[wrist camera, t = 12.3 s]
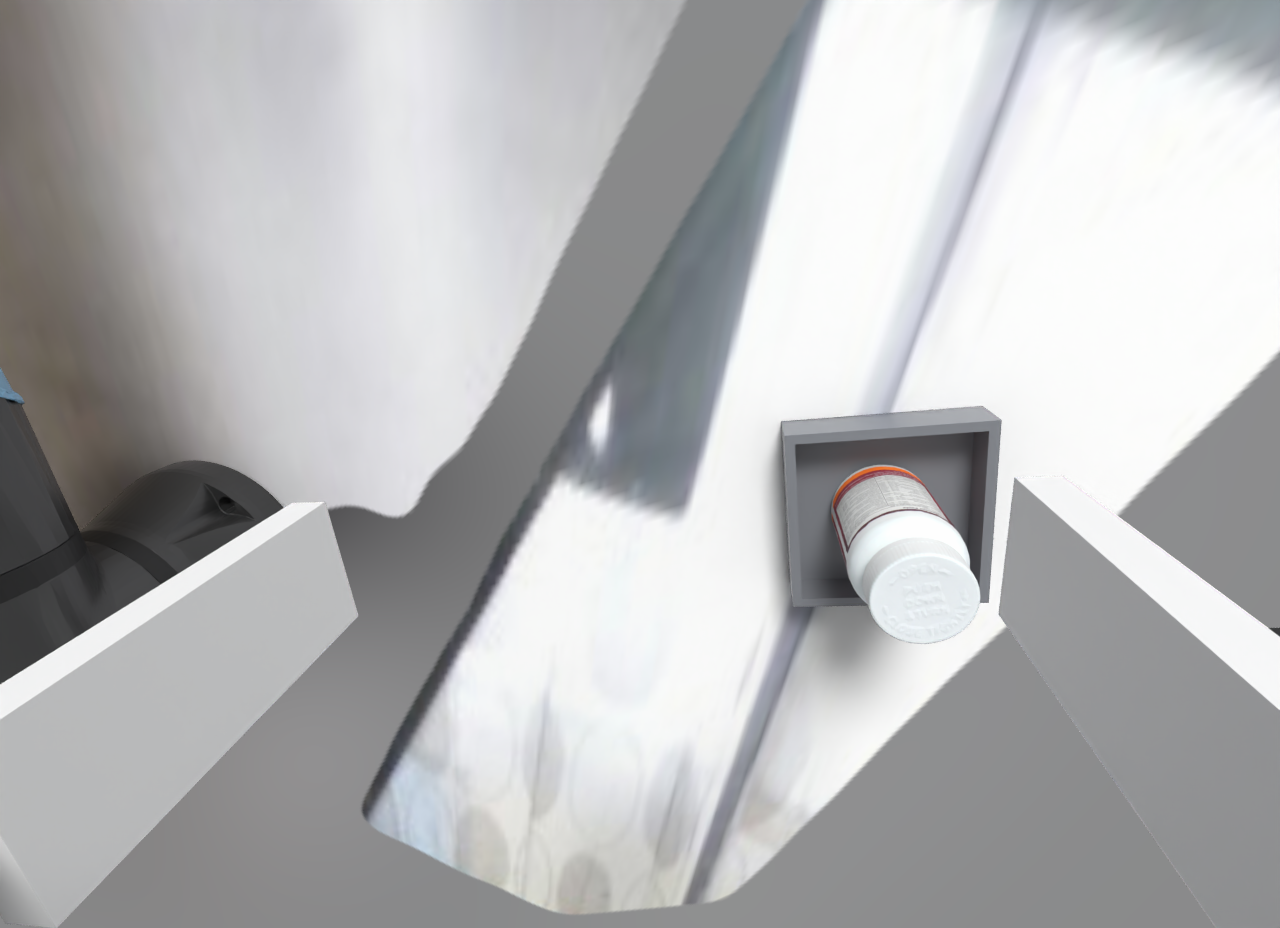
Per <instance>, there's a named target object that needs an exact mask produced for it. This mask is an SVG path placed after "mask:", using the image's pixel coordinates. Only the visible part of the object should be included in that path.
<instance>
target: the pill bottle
mask: <svg viewBox="0 0 1280 928" xmlns="http://www.w3.org/2000/svg"><path fill="white" fill-rule="evenodd" d="M831 515H832V521H833V525H834V528H835V531H836V534H837V538H838V541H839V544H840V548H841V551H842V555H843V558H844V561H845V565H846V569H847V573H848V577H849V579H850V581H851V584H852V586H853V588H854V590H855V591H856V593H857V594H858V595H859V597H860V598H861V599H862V600H863V601H864V602H865V603H867V604H868V607H869V610H870V613H871V615H872V617H873V619H874V621H875V622H876V623H877V624H878V626H879V627H880V628H881V629H882V630H884V631H885V632H886V633H887V634H889V635H891V636H892V637H894V638H896V639H899V640H902V641H905V642H909V643H917V644H929V643H935V642H939V641H943V640H946V639H948V638H951V637H953V636H955V635H956V634H958V633H960V632H961V631H962V630H964V629H965V628H966V627H967V626H968V625H969V624H970V623H971V621H972V620H973V618H974V617H975V615H976V613H977V611H978V608H979V604H980V589H979V585H978V582H977V580H976V578H975V576H974V574H973V573H972V571H971V570H970V558H969V553H968V550H967V547H966V545H965V543H964V541H963V539H962V537H961V535H960V534H959V532H958V531H957V529H956V528H955V527H954V525H953V524H952V523H951V521H950V520H949V519H948V517H947V516H946V515H945V513H944V512H943V510H942V509H941V507H940V506H939V505H938V503H937V502H936V500H935V499H934V497H933V496H932V495H931V493H930V492H929V490H928V489H927V488H926V486H925V485H924V484H923V483H922V481H921V480H920V479H919V478H918V477H917V476H915V475H914V474H913V473H911V472H910V471H908V470H906V469H903V468H900V467H897V466H892V465H873V466H869V467H865V468H862V469H860V470H858V471H856V472H854V473H853V474H851V475H850V476H849V477H847V478H846V479H845V480H844V481H843V482H842V483H841V485H840V486H839V487H838V489H837V491H836V492H835V495H834V497H833V500H832V506H831Z"/></svg>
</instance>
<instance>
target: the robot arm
mask: <svg viewBox="0 0 1280 928" xmlns="http://www.w3.org/2000/svg"><path fill="white" fill-rule="evenodd" d="M22 404H24V401H23V399H22V397H21V396H20V395H19V394H17V393H16V392H13V390H12V388H11V386H10V385H9V383H8V381H7V379H6V377H5V375H4V374H3V372H2V370H1V368H0V916H1V917H2V919H3V921H4V922H5V923H7V924H17V925H29V926H38V927H49V928H57V927H58V926H59V925H60V924H61V923H62V922H63V921H64V920H65V919H66V918H67V917H68V916H69V915H70V914H71V913H72V912H73V911H74V910H75V909H76V908H77V907H78V906H79V905H80V903H81V902H82V901H83V900H84V899H85V898H86V897H87V896H88V895H89V894H90V893H91V892H92V891H93V890H94V889H95V888H96V887H97V886H98V885H99V884H100V883H101V882H102V881H103V879H105V878H106V876H108V875H109V873H110V872H111V871H112V870H113V869H114V868H115V867H116V866H117V865H118V864H119V863H120V862H121V861H122V860H123V859H124V858H125V857H126V856H127V855H128V854H129V853H130V852H131V851H132V850H133V849H134V847H136V846H137V844H138V843H139V842H140V841H141V840H142V839H143V838H144V837H145V836H146V835H147V834H148V833H149V832H150V831H151V830H152V829H153V828H154V827H155V826H156V825H157V824H158V823H159V822H160V820H162V819H163V818H164V816H165V815H166V814H167V813H168V812H169V811H170V810H171V809H172V808H173V807H174V806H175V805H176V804H177V803H178V802H179V801H180V800H181V799H182V798H183V797H184V796H185V795H186V794H187V793H188V792H189V791H190V790H191V789H192V788H193V786H194V785H195V784H196V783H197V782H198V781H199V780H200V779H201V778H202V777H203V776H204V775H205V774H206V773H207V772H208V771H209V770H210V769H211V768H212V767H213V766H214V765H215V764H216V763H217V762H218V761H219V760H220V759H221V758H222V756H223V755H224V754H225V753H226V752H227V751H228V750H229V749H230V748H231V747H232V746H233V745H234V744H235V743H236V742H237V741H238V740H239V739H240V738H241V737H242V736H243V735H244V734H245V733H246V732H247V731H248V730H249V729H250V728H251V726H252V725H253V724H254V723H255V722H256V721H257V720H258V719H259V718H260V717H261V716H262V715H263V714H264V713H265V712H266V711H267V710H268V709H269V708H270V707H271V706H272V705H273V704H274V703H275V702H276V701H277V700H278V699H279V698H280V696H281V695H282V694H283V693H284V692H285V691H286V690H287V689H288V688H289V687H290V686H291V685H292V684H293V683H294V682H295V681H296V680H297V679H298V678H299V677H300V676H301V675H302V674H303V673H304V672H305V671H306V670H307V668H308V667H309V666H310V665H311V664H312V663H313V662H314V661H315V660H316V659H317V658H318V657H319V656H320V655H321V654H322V653H323V652H324V651H325V650H326V649H327V648H328V647H329V646H330V645H331V644H332V642H334V641H335V640H336V639H337V638H338V636H339V635H340V634H341V633H342V632H343V631H344V630H345V629H346V628H347V627H348V626H349V625H350V624H351V623H352V622H353V621H354V620H355V619H356V618H357V617H358V613H357V609H356V606H355V603H354V599H353V596H352V592H351V589H350V586H349V583H348V579H347V575H346V572H345V568H344V565H343V561H342V559H341V555H340V551H339V548H338V545H337V541H336V537H335V534H334V531H333V527H332V524H331V520H330V517H329V514H328V510H327V507H326V503H325V502H307V503H291V504H290V505H288V506H286V507H285V508H283V507H282V506H281V505H280V504H279V503H278V501H277V500H276V499H275V498H274V497H273V496H272V495H271V494H269V493H268V492H267V491H266V490H265V489H264V488H262V487H261V486H260V485H259V484H257V483H256V482H255V481H253V480H251V479H250V478H248V477H247V476H245V475H243V474H241V473H239V472H237V471H235V470H233V469H231V468H228V467H225V466H222V465H219V464H215V463H211V462H205V461H183V462H178V463H174V464H171V465H169V466H166V467H164V468H161V469H159V470H157V471H154V472H152V473H149V474H147V475H145V476H143V477H141V478H140V479H138V480H137V481H135V482H134V483H132V484H131V485H130V486H129V487H128V488H127V489H125V490H124V491H123V492H122V493H121V494H120V495H119V496H118V497H117V498H116V499H115V500H114V501H113V502H111V503H110V504H109V505H108V506H107V507H106V508H105V509H104V510H103V511H102V512H101V513H100V514H99V515H98V516H96V517H95V518H94V519H93V520H92V521H91V522H90V523H89V524H88V525H87V526H86V527H85V528H84V529H83V530H81V531H79V529H78V526H77V524H76V522H75V520H74V518H73V516H72V514H71V512H70V509H69V507H68V505H67V503H66V501H65V499H64V496H63V494H62V492H61V490H60V488H59V486H58V483H57V481H56V479H55V477H54V475H53V473H52V470H51V468H50V466H49V464H48V462H47V460H46V457H45V455H44V453H43V451H42V449H41V446H40V444H39V442H38V440H37V438H36V436H35V433H34V431H33V429H32V427H31V425H30V423H29V420H28V418H27V416H26V414H25V412H24V410H23V407H22ZM999 616H1000V617H1001V618H1002V620H1003V621H1004V623H1005V624H1006V626H1007V627H1008V629H1009V630H1010V631H1011V633H1012V634H1013V636H1014V637H1015V639H1016V640H1017V642H1018V643H1019V644H1020V646H1021V647H1022V649H1023V650H1024V652H1025V653H1026V654H1027V656H1028V657H1029V659H1030V660H1031V662H1032V663H1033V665H1034V666H1035V667H1036V669H1037V670H1038V672H1039V673H1040V675H1041V676H1042V678H1043V679H1044V680H1045V682H1046V683H1047V685H1048V686H1049V688H1050V689H1051V691H1052V692H1053V694H1054V695H1055V696H1056V698H1057V699H1058V701H1059V702H1060V704H1061V705H1062V707H1063V708H1064V709H1065V711H1066V712H1067V714H1068V715H1069V717H1070V718H1071V719H1072V721H1073V722H1074V724H1075V725H1076V727H1077V728H1078V730H1079V731H1080V733H1081V734H1082V735H1083V737H1084V738H1085V740H1086V741H1087V742H1088V744H1089V746H1090V747H1091V748H1092V750H1093V751H1094V753H1095V754H1096V756H1097V757H1098V758H1099V760H1100V761H1101V763H1102V764H1103V766H1104V767H1105V768H1106V770H1107V771H1108V773H1109V774H1110V776H1111V777H1112V779H1113V780H1114V782H1115V783H1116V784H1117V786H1118V787H1119V789H1120V790H1121V792H1122V793H1123V795H1124V796H1125V797H1126V799H1127V801H1128V802H1129V803H1130V805H1131V806H1132V808H1133V809H1134V811H1135V812H1136V814H1137V815H1138V816H1139V818H1140V819H1141V821H1142V822H1143V824H1144V825H1145V826H1146V828H1147V829H1148V831H1149V832H1150V834H1151V835H1152V837H1153V838H1154V839H1155V841H1156V842H1157V844H1158V845H1159V847H1160V848H1161V850H1162V851H1163V853H1164V854H1165V855H1166V857H1167V858H1168V860H1169V861H1170V863H1171V864H1172V866H1173V867H1174V868H1175V870H1176V871H1177V873H1178V874H1179V876H1180V877H1181V879H1182V880H1183V881H1184V883H1185V884H1186V886H1187V887H1188V889H1189V890H1190V892H1191V893H1192V894H1193V896H1194V897H1195V899H1196V900H1197V901H1198V903H1199V905H1200V906H1201V907H1202V909H1203V910H1204V911H1205V913H1206V915H1207V916H1208V918H1209V919H1210V920H1211V922H1212V923H1213V925H1214V926H1215V928H1280V628H1267V627H1266V626H1265V625H1263V624H1262V623H1261V622H1259V621H1258V620H1257V619H1255V618H1254V617H1253V616H1251V615H1250V614H1249V613H1247V612H1246V611H1245V610H1243V609H1242V608H1241V607H1239V606H1238V605H1237V604H1235V603H1234V602H1232V601H1231V600H1230V599H1228V598H1227V597H1226V596H1224V595H1223V594H1222V593H1220V592H1219V591H1218V590H1216V589H1215V588H1214V587H1212V586H1211V585H1209V584H1208V583H1207V582H1205V581H1204V580H1203V579H1201V578H1200V577H1199V576H1198V575H1196V574H1195V573H1194V572H1192V571H1191V570H1189V569H1188V568H1187V567H1185V566H1184V565H1183V564H1181V563H1180V562H1179V561H1177V560H1176V559H1175V558H1173V557H1172V556H1171V555H1169V554H1168V553H1167V552H1165V551H1164V550H1163V549H1161V548H1160V547H1159V546H1157V545H1156V544H1155V543H1153V542H1152V541H1150V540H1149V539H1148V538H1147V537H1145V536H1144V535H1142V534H1141V533H1140V532H1138V531H1137V530H1136V529H1134V528H1133V527H1132V526H1130V525H1129V524H1128V523H1126V522H1125V521H1124V520H1122V519H1121V518H1120V517H1118V516H1117V515H1116V514H1114V513H1113V512H1112V511H1110V510H1109V509H1108V508H1106V507H1105V506H1104V505H1102V504H1101V503H1099V502H1098V501H1097V500H1095V499H1094V498H1093V497H1091V496H1090V495H1089V494H1087V493H1086V492H1085V491H1083V490H1082V489H1081V488H1079V487H1078V486H1077V485H1075V484H1074V483H1073V482H1071V481H1070V480H1069V479H1067V478H1066V477H1065V476H1038V477H1015V478H1014V486H1013V495H1012V503H1011V512H1010V521H1009V529H1008V538H1007V546H1006V555H1005V563H1004V572H1003V580H1002V589H1001V598H1000V606H999Z"/></svg>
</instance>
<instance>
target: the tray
mask: <svg viewBox="0 0 1280 928" xmlns="http://www.w3.org/2000/svg"><path fill="white" fill-rule="evenodd" d="M781 423H782V442H783V461H784V480H785V499H786V518H787V537H788V556H789V575H790V587H791V595H792V603H793V607H813V606H858V605H868V604H867V603H865V602H864V601H863V600H862V599H861V598H860V597H859V595H858V594H857V593H856V591H855V590H854V588H853V586H852V584H851V581H850V579H849V577H848V573H847V569H846V565H845V561H844V558H843V555H842V551H841V548H840V544H839V541H838V538H837V534H836V531H835V528H834V525H833V521H832V515H831V506H832V500H833V497H834V495H835V492H836V491H837V489H838V487H839V486H840V485H841V483H842V482H843V481H844V480H845V479H846V478H847V477H849V476H850V475H851V474H853V473H854V472H856V471H858V470H860V469H862V468H865V467H869V466H873V465H892V466H897V467H900V468H903V469H906V470H908V471H910V472H911V473H913V474H914V475H915V476H917V477H918V478H919V479H920V480H921V481H922V483H923V484H924V485H925V486H926V488H927V489H928V490H929V492H930V493H931V495H932V496H933V497H934V499H935V500H936V502H937V503H938V505H939V506H940V507H941V509H942V510H943V512H944V513H945V515H946V516H947V517H948V519H949V520H950V521H951V523H952V524H953V525H954V527H955V528H956V529H957V531H958V532H959V534H960V535H961V537H962V539H963V541H964V543H965V545H966V547H967V550H968V553H969V558H970V570H971V571H972V573H973V574H974V576H975V578H976V580H977V582H978V585H979V589H980V603H989V590H990V576H991V562H992V548H993V534H994V519H995V505H996V491H997V477H998V463H999V449H1000V434H1001V419H999V418H998V417H997V416H995V415H994V414H993V413H991V412H990V411H989V410H987V409H986V408H985V407H983V406H977V407H964V408H951V409H938V410H925V411H912V412H899V413H886V414H873V415H860V416H847V417H834V418H821V419H808V420H795V421H782V422H781Z"/></svg>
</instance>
